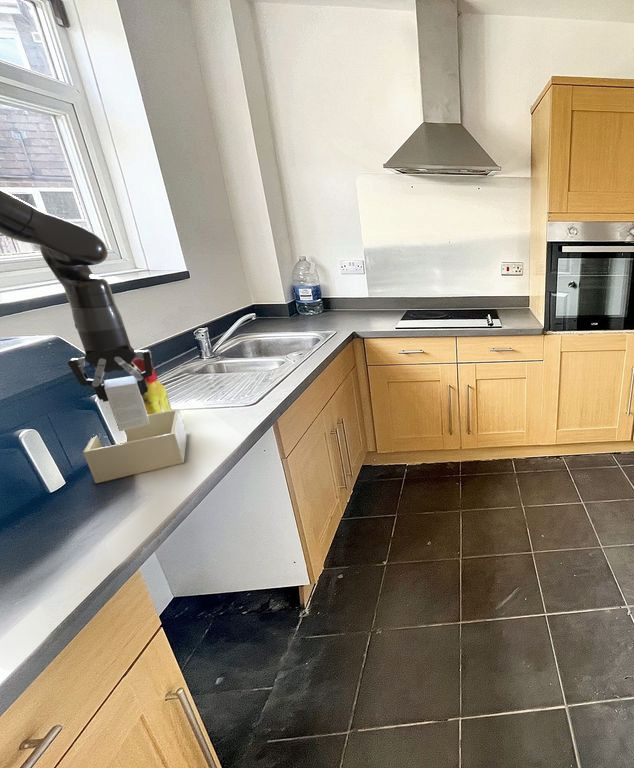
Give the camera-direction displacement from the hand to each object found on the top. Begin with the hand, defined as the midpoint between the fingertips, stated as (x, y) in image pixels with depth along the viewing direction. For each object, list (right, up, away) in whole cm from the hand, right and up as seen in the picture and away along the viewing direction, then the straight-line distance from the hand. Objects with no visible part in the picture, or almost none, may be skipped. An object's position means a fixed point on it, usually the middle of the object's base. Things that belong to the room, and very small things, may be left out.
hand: (125, 397), depth 97 cm
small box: (0, -6, +2) cm, 7 cm away
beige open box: (0, -15, +5) cm, 16 cm away
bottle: (-12, -8, +24) cm, 28 cm away
